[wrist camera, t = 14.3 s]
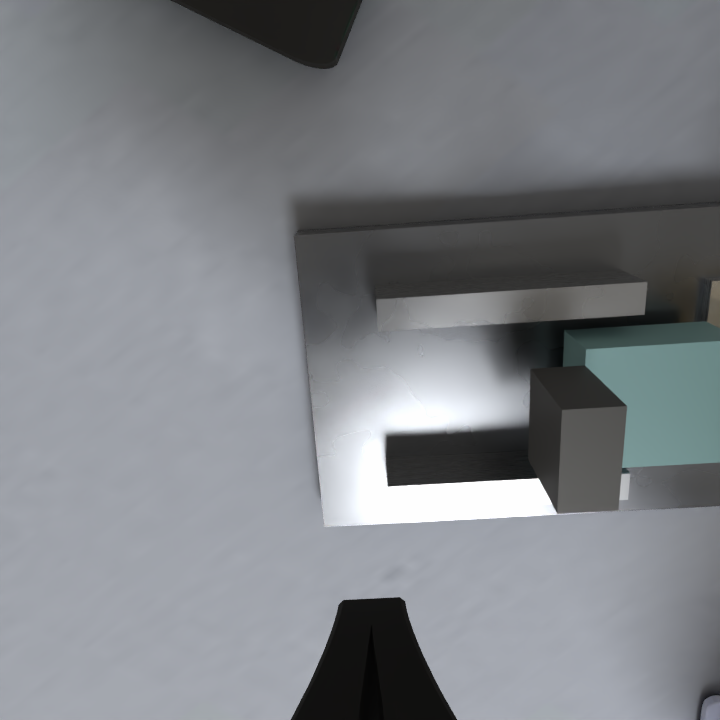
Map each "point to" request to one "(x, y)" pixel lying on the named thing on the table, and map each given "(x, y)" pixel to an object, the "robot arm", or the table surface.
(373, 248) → the press bed
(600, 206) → the table surface
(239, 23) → the smart home device
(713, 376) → the teal and grey block
